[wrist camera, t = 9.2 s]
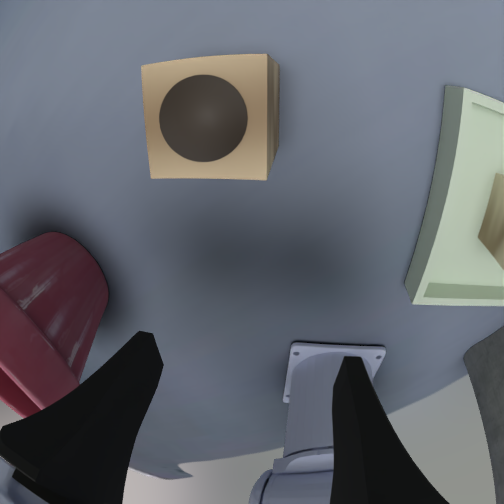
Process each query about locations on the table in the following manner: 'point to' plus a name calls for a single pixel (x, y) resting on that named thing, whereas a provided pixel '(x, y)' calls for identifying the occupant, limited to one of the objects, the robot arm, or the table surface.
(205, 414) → the table surface
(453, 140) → the tray
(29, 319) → the plant pot
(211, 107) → the oak block
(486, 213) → the birch block
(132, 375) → the robot arm
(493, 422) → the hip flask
